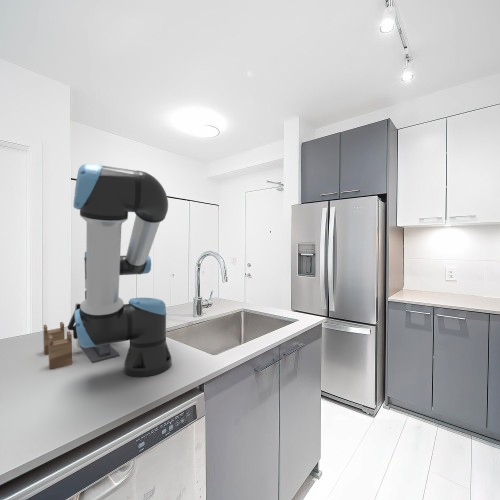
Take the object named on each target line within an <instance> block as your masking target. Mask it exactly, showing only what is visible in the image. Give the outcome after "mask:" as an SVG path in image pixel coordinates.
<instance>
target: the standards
mask: <svg viewBox="0 0 500 500" xmlns="http://www.w3.org/2000/svg"><path fill="white" fill-rule="evenodd" d="M59 327H60V328H55V329H51V330H50V329H49V330H48V326H47V324H43V353H44V355H45V356H47V355H48V367H49V370H54V369H58V368H62V367H65V366H69V365H72V364H73V340H72V337H73V336H72V335H73V333H72V332H71V330H69V331H66V339H65V323H64V322H63V321H60V322H59Z"/></svg>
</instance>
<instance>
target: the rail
mask: <svg viewBox="0 0 500 500" xmlns="http://www.w3.org/2000/svg"><path fill="white" fill-rule="evenodd" d="M110 346H111V344H106V345H101V346H98V347H92V349H93V350H94V351H95V352H96V353H97V354H98V356H99V357H103V356H106V355H110Z"/></svg>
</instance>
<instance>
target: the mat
mask: <svg viewBox="0 0 500 500" xmlns="http://www.w3.org/2000/svg"><path fill="white" fill-rule="evenodd" d="M79 348H81V349H82V351H83V352H84V353H85V355H86V356H87V357H88V359H89V361H90V362H91V363H92V364H94V363H98V362H101V361H105V360H106V361H107V360H108V359H113V358H114V359H115V358H116V357H120V353H119V352H118V351H117V350H116V349H115V348H114V347H113V346H111V345H110V355H106V356H103V357H99V356H98V354H97V353H96V352H95V351H94V350H93V349H92V347H88V348H83V347H81V346H80V347H79Z"/></svg>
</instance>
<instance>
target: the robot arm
mask: <svg viewBox="0 0 500 500" xmlns="http://www.w3.org/2000/svg"><path fill="white" fill-rule="evenodd" d="M75 181H76V182H75V188H74V197H73V208H74V209H76V210H79V216H80V217H81V218H82V219H83V220H84V221H85V222H86V239H85V240H86V242H85V243H86V244H85V245H86V251H85V252H84V258H83V259H84V288H85V291H84V300H83V301H82V302H80V303H79V302H76V303H75V305H74V306H75V308H74V309H75V310H73V313H72V316H71V317H70V320H69V323H68V325H67V327H66V328H67V329H68V330H69V331H72V332H73V333H72V335H73V336H72V337H73V340H76V347H77V349H78V348H81V347H83V348H88V347H98V346H101V345H106V344H110V345H111V344H115V343H116V344H117V343H120V342H121V343H122V342H125V341H129V347H128V350H127V354H126V357H125V360H124V363H123V371H124V373H125V375H128V376H130V377H133V378H134V377H135V378H142V377H150V376H154V375H155V376H156V375H159V374H160V373H163V372H165V371H167V370H168V369H169V368H171V366H172V355H171V352H170V348H169V347H168V344H167V309H166V307H167V306H166V303H165V302H164V301H163V300H162V299H158V298H154V297H153V298H152V297H134V298H133V297H132V298H130V299H129V300H128V303H125V302H124V300H123V299H122V298H120V297H119V293H120V290H119V289H120V276H129V275H131V276H132V275H145V274H148V273H150V272H151V270H152V258H151V256H150V252H151V249H152V246H153V243H154V241H155V237H156V234H157V232H158V229H159V226H160V223H161V222H163V221H164V220H165V219H166V216H167V214H168V210H169V199H168V196H167V193H166V190H165V188H164V187H163V185H162V183H161V182H160V181H158V179H157V178H155V176H153V175H152V174H150V173H148V172H146V171H142V170H135V169H128V168H120V167H115V166H114V167H113V166H109V165H108V166H107V165H102V164H90V163H85V164H82V165H81V166H79V168H78V171H77V175H76V180H75ZM129 213H134V214H135V217H134V218H135V219H134V222H133V226H132V229H131V235H130V239H129V243H128V247H127V250H126V254H125V255H121V248H122V245H121V244H122V243H121V242H122V226H123V223H125V222H126V221H127V220H128V219H129ZM124 303H125V304H124ZM80 346H81V347H80Z"/></svg>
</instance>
